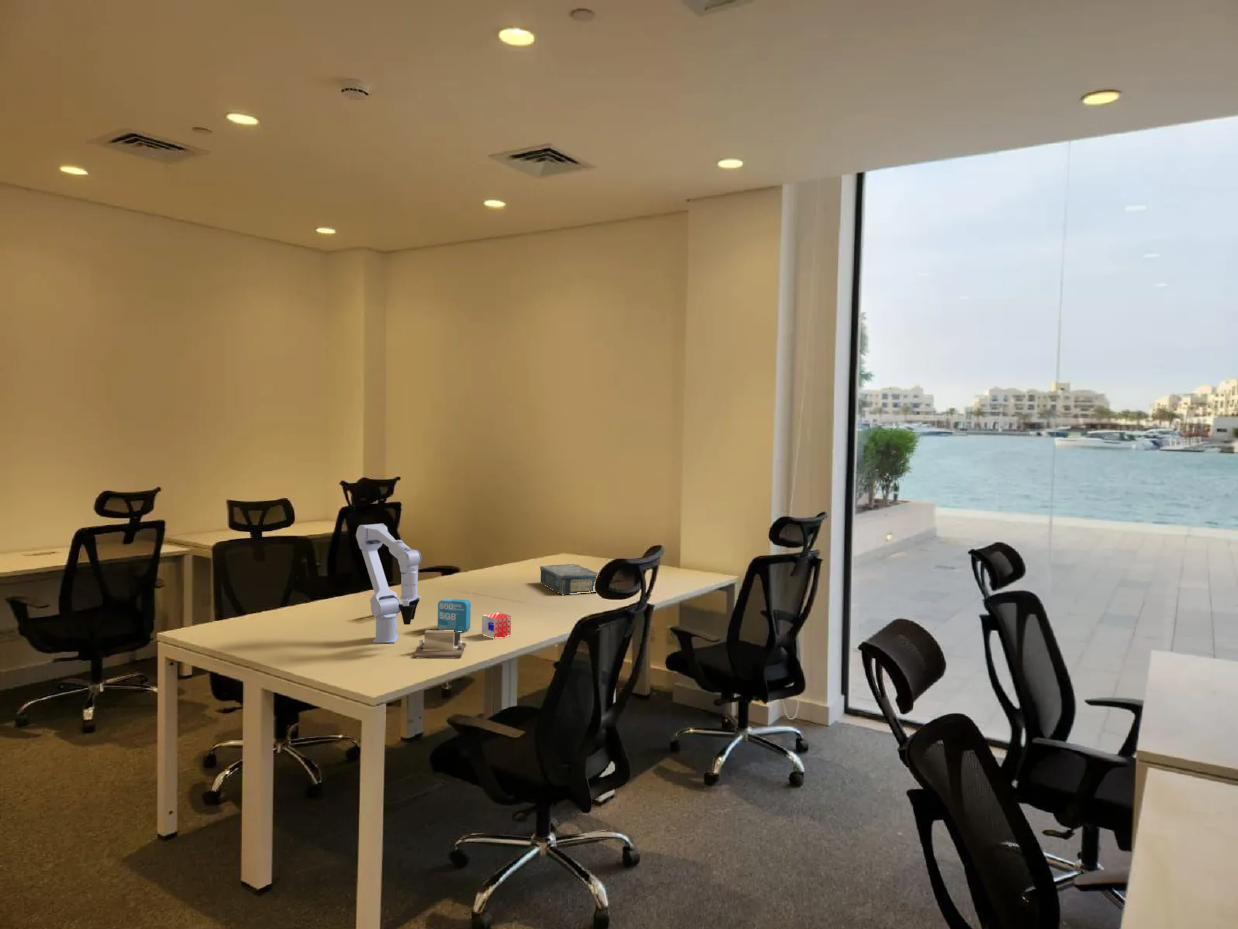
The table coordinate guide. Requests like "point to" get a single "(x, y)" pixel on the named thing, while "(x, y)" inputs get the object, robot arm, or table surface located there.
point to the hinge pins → (422, 644)
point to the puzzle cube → (496, 625)
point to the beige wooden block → (439, 639)
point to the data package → (454, 614)
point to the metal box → (568, 578)
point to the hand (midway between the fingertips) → (408, 621)
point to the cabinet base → (442, 650)
